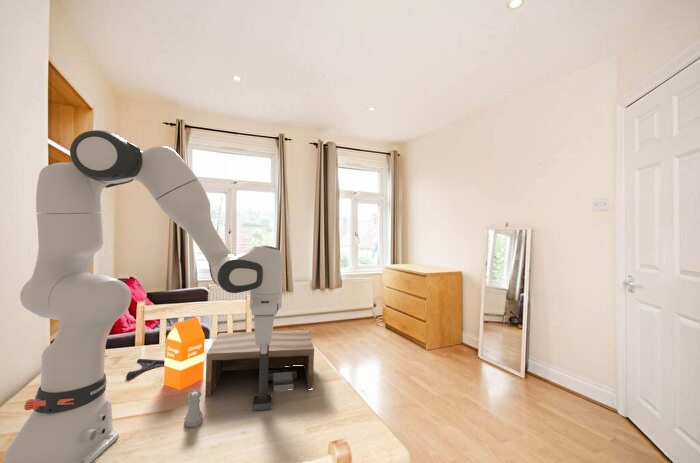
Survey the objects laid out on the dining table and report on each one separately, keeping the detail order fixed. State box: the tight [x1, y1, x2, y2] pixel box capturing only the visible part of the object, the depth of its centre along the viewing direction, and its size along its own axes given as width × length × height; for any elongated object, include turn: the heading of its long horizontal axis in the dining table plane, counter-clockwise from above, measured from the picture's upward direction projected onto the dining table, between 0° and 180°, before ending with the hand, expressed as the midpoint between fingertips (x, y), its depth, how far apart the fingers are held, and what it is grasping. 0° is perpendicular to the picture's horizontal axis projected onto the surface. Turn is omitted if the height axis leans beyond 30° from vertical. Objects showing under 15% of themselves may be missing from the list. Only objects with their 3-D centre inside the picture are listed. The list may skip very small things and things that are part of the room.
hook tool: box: [252, 345, 298, 411], centre depth 100 cm, size 18×14×20 cm
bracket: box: [125, 358, 165, 381], centre depth 113 cm, size 14×15×3 cm
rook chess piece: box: [183, 389, 204, 428], centre depth 83 cm, size 4×4×8 cm
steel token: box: [272, 376, 294, 392], centre depth 104 cm, size 6×6×2 cm
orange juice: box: [163, 317, 206, 390], centre depth 106 cm, size 8×9×20 cm
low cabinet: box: [204, 329, 315, 398], centre depth 109 cm, size 20×32×13 cm, turn 102°
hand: (264, 350), depth 92 cm, fingers closed on hook tool, 2 cm apart
